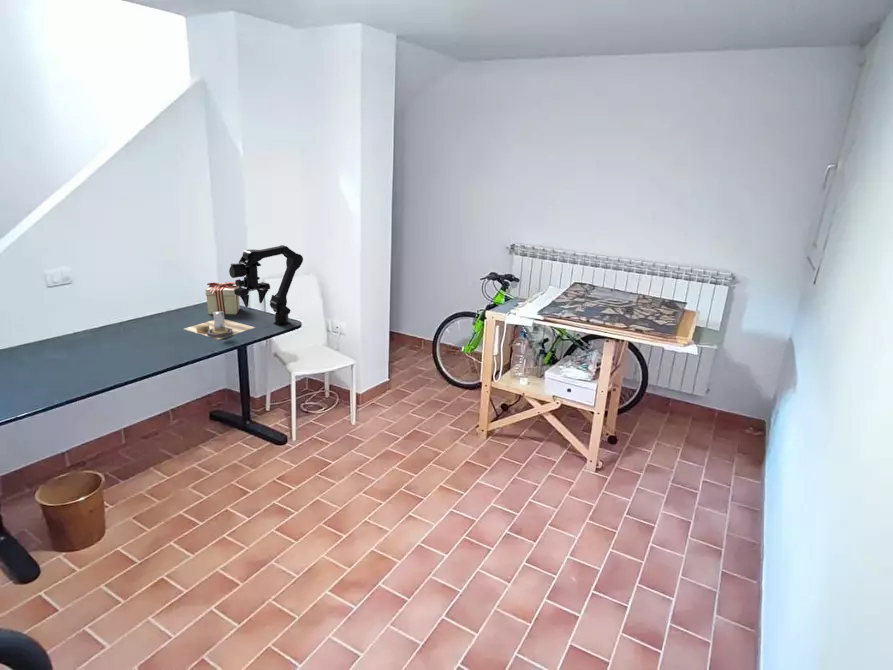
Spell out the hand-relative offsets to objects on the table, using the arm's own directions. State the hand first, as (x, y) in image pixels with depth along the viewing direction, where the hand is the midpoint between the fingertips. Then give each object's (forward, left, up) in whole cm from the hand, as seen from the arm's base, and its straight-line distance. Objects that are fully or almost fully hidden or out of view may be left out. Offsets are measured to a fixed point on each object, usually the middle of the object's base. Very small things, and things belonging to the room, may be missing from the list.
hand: (253, 305), depth 284 cm
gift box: (-10, -34, -13) cm, 38 cm away
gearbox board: (+11, -13, -13) cm, 22 cm away
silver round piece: (+17, -6, -12) cm, 22 cm away
